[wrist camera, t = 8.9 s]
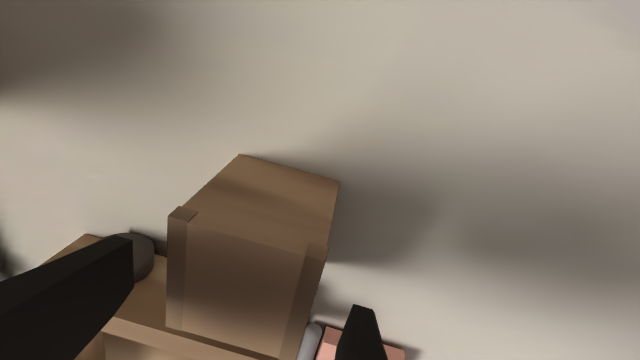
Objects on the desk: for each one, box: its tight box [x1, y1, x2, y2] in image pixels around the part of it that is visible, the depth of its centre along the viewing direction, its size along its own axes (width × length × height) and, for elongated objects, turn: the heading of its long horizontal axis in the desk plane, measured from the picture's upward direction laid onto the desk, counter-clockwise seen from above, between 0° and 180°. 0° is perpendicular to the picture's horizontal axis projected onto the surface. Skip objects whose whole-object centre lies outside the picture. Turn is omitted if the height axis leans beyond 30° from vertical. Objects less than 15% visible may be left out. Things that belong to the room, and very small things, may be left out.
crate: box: [166, 154, 340, 360], centre depth 13 cm, size 5×5×6 cm
